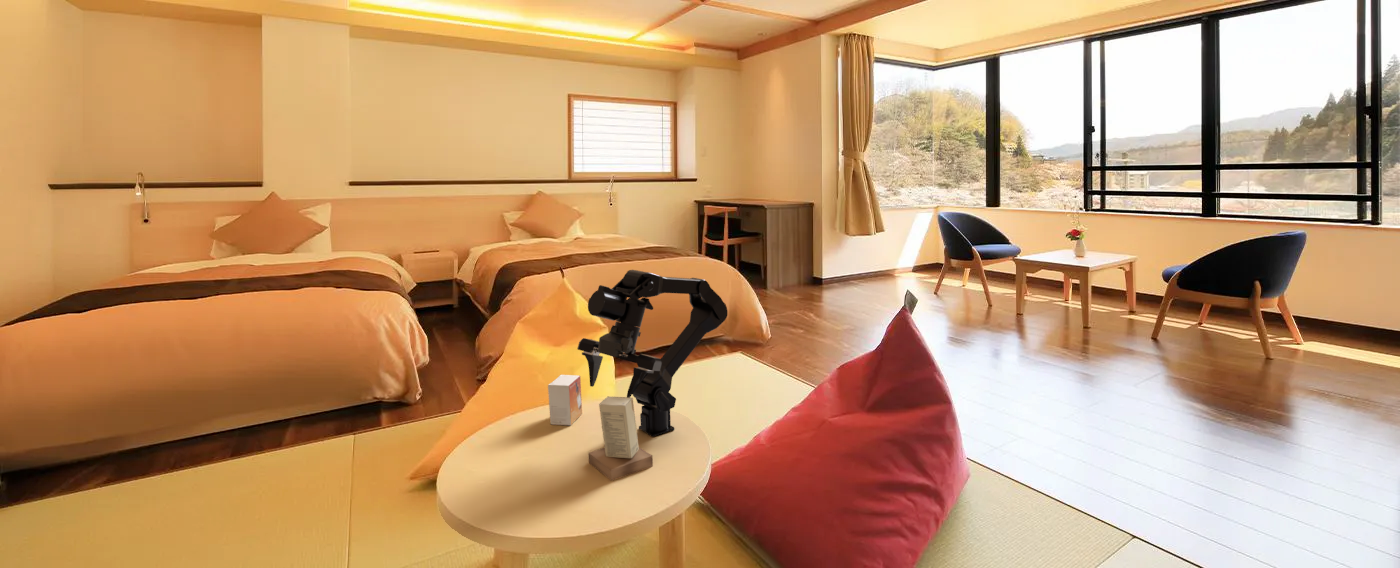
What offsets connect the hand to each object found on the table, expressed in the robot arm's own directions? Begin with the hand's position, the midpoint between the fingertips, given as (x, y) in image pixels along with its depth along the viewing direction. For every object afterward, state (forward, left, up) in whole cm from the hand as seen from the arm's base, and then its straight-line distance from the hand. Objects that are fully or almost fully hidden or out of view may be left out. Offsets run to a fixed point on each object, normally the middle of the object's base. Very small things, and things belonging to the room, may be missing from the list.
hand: (609, 391), depth 143 cm
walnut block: (+3, +9, -14) cm, 17 cm away
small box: (+1, -21, -14) cm, 25 cm away
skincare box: (+3, +9, -11) cm, 14 cm away
